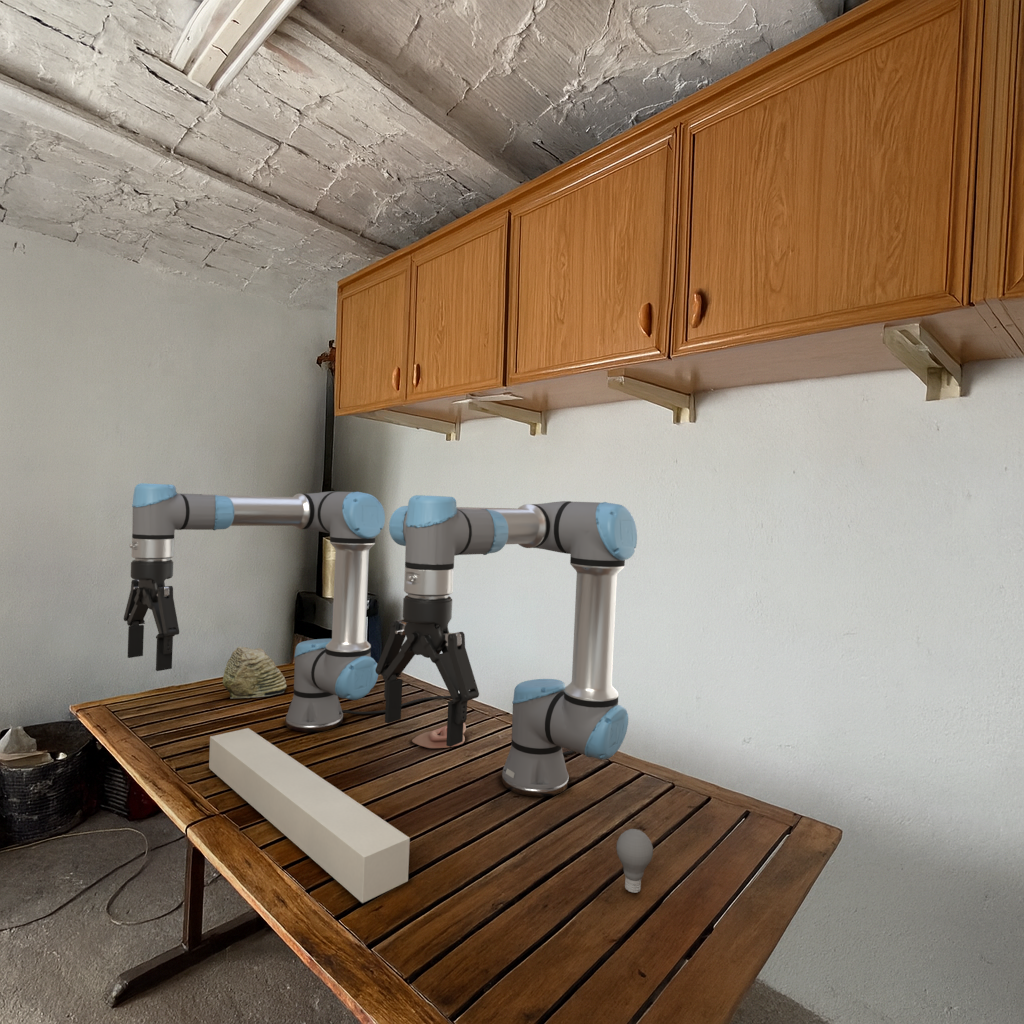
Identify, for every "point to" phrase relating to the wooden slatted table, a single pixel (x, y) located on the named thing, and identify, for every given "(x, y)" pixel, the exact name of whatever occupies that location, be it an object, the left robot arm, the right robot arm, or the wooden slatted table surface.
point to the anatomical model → (435, 738)
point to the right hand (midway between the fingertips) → (422, 732)
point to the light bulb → (634, 857)
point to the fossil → (252, 674)
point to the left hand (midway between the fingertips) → (149, 663)
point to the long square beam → (313, 814)
